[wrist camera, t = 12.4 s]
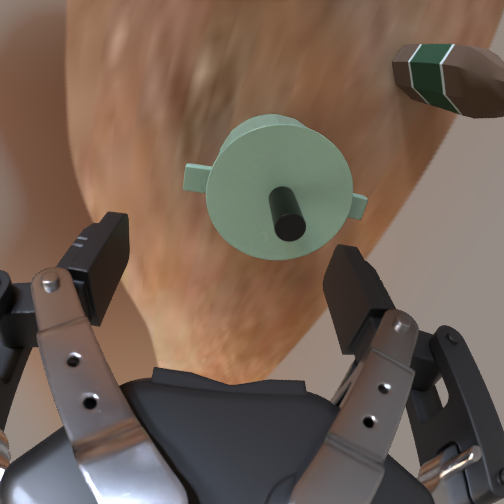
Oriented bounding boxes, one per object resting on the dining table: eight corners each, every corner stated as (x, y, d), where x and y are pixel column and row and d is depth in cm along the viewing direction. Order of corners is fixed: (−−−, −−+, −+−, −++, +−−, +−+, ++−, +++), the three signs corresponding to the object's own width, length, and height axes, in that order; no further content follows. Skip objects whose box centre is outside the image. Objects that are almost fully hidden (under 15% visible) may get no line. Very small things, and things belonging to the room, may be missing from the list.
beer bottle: (407, 110, 31) (558, 184, 11) (378, 57, 28) (542, 74, 8) (447, 87, 29) (596, 142, 9) (422, 35, 25) (581, 48, 5)
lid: (218, 109, 23) (211, 121, 18) (367, 142, 25) (399, 164, 20) (199, 244, 31) (191, 286, 25) (325, 262, 32) (341, 303, 27)
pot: (204, 102, 31) (191, 112, 23) (354, 133, 33) (387, 155, 25) (191, 200, 38) (177, 240, 30) (326, 222, 40) (346, 264, 32)
